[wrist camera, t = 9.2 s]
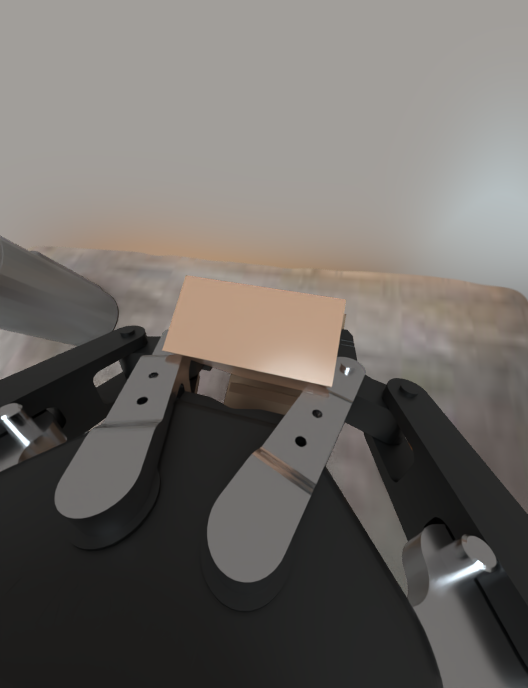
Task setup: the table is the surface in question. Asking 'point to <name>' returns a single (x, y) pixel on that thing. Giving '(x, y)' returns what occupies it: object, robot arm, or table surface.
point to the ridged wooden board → (261, 394)
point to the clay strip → (257, 332)
